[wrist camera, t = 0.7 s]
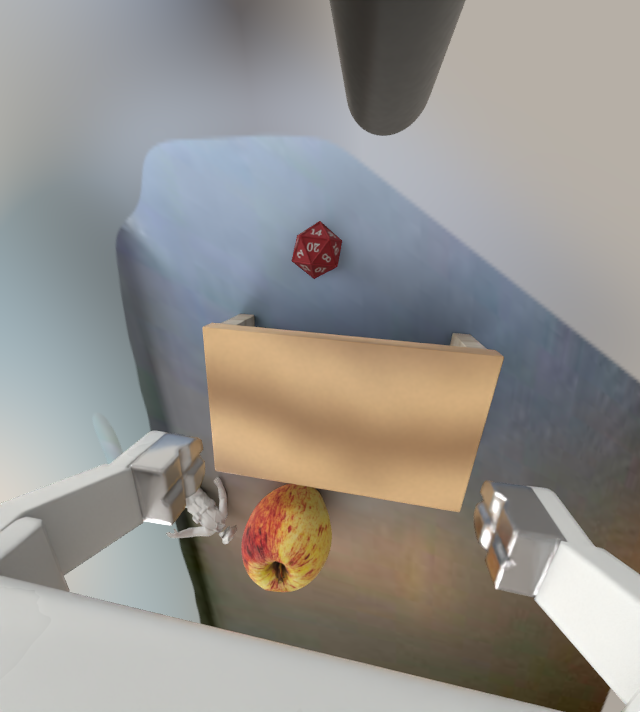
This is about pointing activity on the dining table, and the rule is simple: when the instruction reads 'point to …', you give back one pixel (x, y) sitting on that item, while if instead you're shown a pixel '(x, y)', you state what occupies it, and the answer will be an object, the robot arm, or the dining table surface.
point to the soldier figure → (207, 515)
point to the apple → (287, 538)
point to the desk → (349, 410)
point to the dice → (317, 250)
